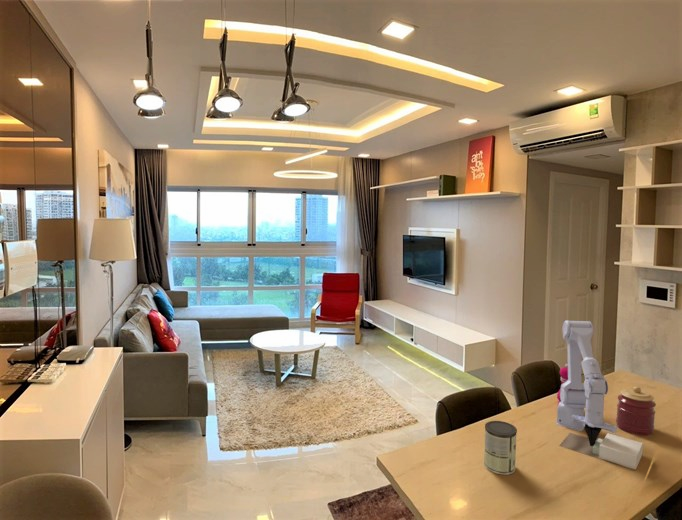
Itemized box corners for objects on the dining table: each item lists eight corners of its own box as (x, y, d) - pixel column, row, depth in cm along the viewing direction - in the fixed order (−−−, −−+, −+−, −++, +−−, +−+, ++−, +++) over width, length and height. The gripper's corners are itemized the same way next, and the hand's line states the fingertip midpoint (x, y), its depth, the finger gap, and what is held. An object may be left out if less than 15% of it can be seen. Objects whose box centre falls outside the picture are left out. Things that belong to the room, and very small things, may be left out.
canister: (653, 439, 169) (656, 395, 168) (614, 429, 177) (616, 387, 175) (654, 427, 180) (657, 385, 178) (617, 418, 187) (619, 378, 186)
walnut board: (559, 447, 163) (559, 445, 163) (570, 433, 174) (570, 432, 174) (635, 472, 147) (635, 470, 147) (642, 455, 157) (642, 454, 157)
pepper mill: (573, 405, 200) (576, 362, 199) (574, 411, 194) (577, 367, 192) (556, 402, 204) (558, 360, 202) (556, 408, 197) (558, 365, 195)
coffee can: (482, 457, 156) (483, 419, 155) (512, 460, 154) (514, 422, 153) (485, 473, 146) (486, 432, 145) (518, 476, 144) (519, 436, 143)
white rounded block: (598, 457, 155) (599, 445, 155) (607, 444, 164) (607, 432, 164) (635, 469, 148) (636, 456, 147) (642, 455, 157) (642, 443, 156)
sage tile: (592, 453, 158) (592, 446, 158) (598, 444, 164) (598, 438, 164) (628, 464, 151) (628, 458, 151) (632, 454, 157) (633, 448, 157)
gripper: (569, 407, 163) (568, 442, 164) (614, 419, 153) (612, 456, 154) (575, 401, 168) (573, 435, 169) (619, 413, 158) (616, 449, 159)
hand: (592, 445), depth 162 cm, fingers closed
